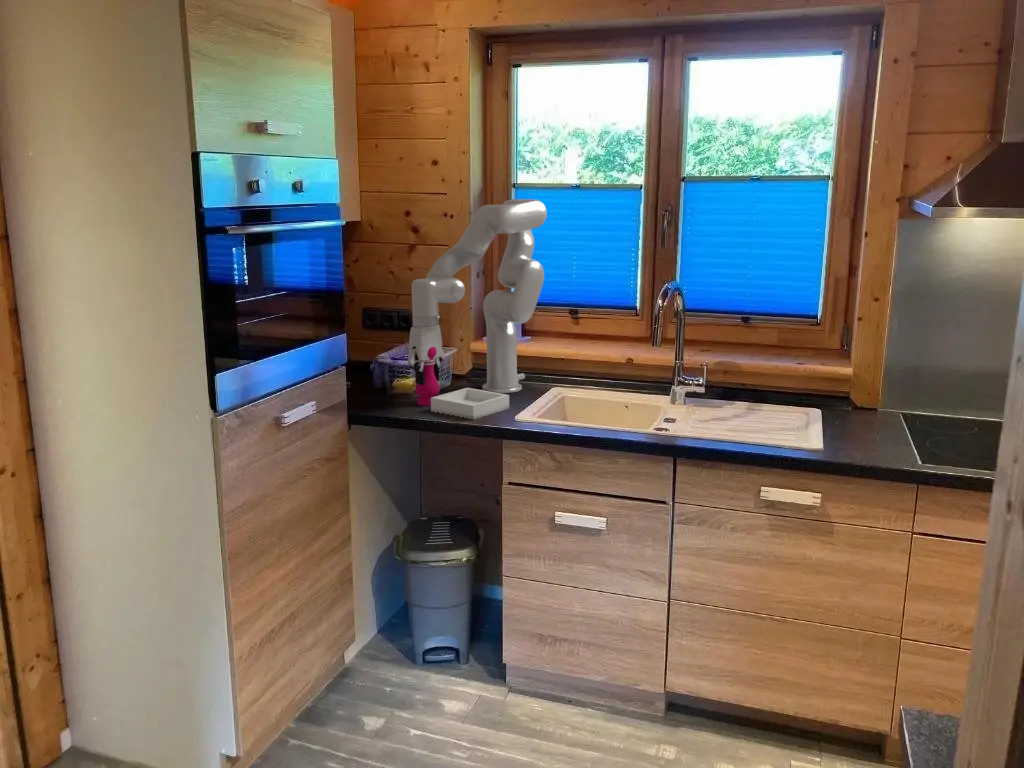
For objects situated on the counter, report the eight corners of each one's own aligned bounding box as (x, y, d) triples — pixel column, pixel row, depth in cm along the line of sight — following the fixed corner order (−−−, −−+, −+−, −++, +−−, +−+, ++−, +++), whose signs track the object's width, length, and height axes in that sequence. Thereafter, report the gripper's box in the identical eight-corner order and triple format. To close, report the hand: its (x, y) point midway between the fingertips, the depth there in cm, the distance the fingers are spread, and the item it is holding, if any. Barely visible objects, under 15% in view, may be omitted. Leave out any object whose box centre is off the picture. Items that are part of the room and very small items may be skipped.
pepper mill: (438, 406, 245) (437, 339, 241) (414, 406, 245) (412, 339, 241) (441, 400, 252) (439, 335, 248) (417, 400, 252) (415, 335, 248)
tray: (467, 400, 252) (467, 387, 251) (509, 408, 243) (509, 395, 242) (431, 411, 240) (430, 397, 239) (473, 420, 230) (473, 405, 229)
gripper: (436, 317, 252) (437, 375, 256) (395, 324, 239) (397, 385, 243) (454, 319, 248) (456, 378, 252) (414, 326, 234) (416, 389, 238)
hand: (427, 381), depth 247 cm, fingers open, 5 cm apart
